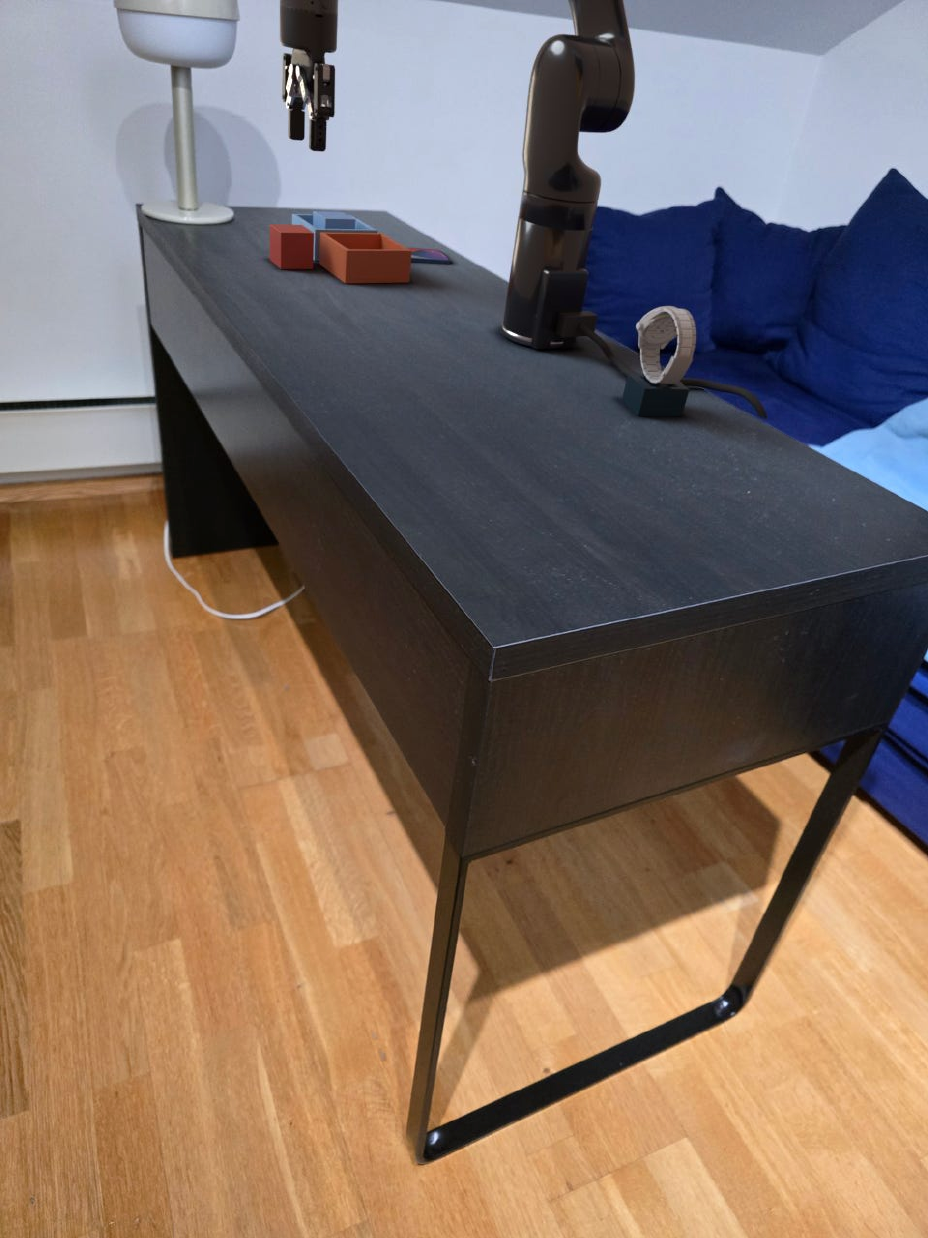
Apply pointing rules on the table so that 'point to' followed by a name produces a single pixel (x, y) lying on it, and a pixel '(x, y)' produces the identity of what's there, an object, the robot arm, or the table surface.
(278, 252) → the red block
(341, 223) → the blue block
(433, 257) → the smartphone
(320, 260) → the orange bin
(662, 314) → the watch
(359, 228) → the blue bin
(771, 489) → the table surface
